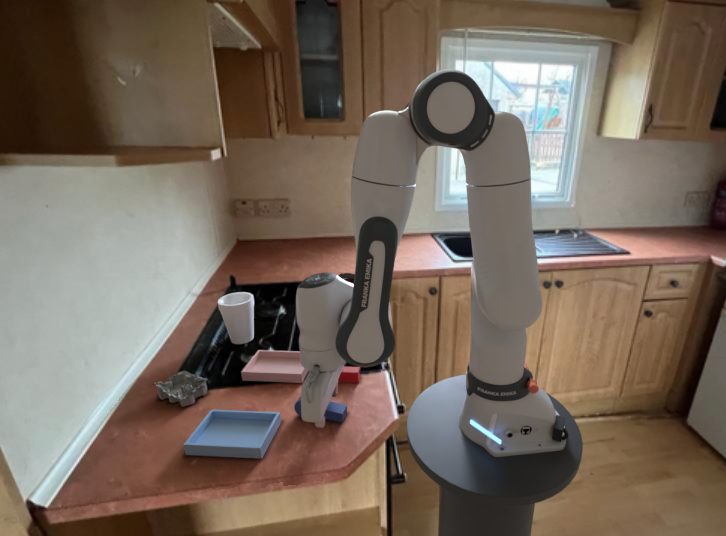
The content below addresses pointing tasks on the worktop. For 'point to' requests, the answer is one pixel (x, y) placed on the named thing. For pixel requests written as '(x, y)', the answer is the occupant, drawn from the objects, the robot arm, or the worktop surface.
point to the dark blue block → (328, 410)
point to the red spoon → (350, 375)
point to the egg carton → (182, 388)
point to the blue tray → (233, 434)
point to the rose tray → (275, 367)
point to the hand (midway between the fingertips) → (327, 409)
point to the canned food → (347, 277)
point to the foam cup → (238, 316)
